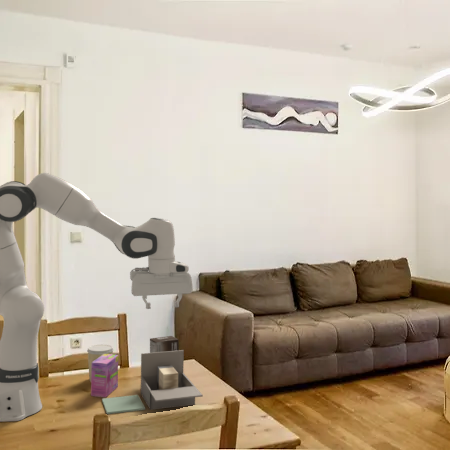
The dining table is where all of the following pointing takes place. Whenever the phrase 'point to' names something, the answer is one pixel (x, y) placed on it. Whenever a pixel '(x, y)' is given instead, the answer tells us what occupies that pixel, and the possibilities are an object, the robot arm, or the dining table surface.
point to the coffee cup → (97, 354)
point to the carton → (166, 396)
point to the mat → (123, 404)
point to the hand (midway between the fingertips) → (162, 307)
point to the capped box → (166, 377)
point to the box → (104, 375)
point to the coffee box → (164, 344)
